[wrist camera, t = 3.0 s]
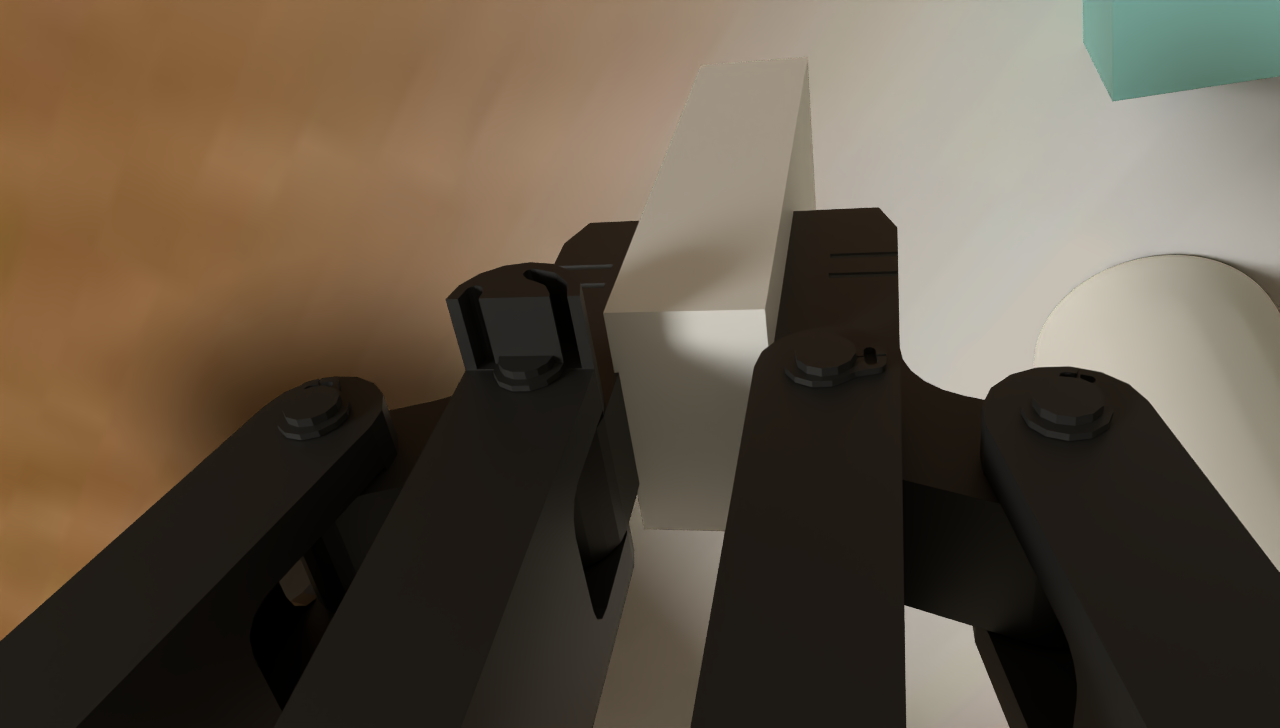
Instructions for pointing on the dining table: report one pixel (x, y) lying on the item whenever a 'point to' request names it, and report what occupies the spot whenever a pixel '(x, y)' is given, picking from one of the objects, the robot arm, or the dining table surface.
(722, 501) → the robot arm
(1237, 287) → the mug
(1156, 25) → the teal bar
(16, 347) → the dining table surface
